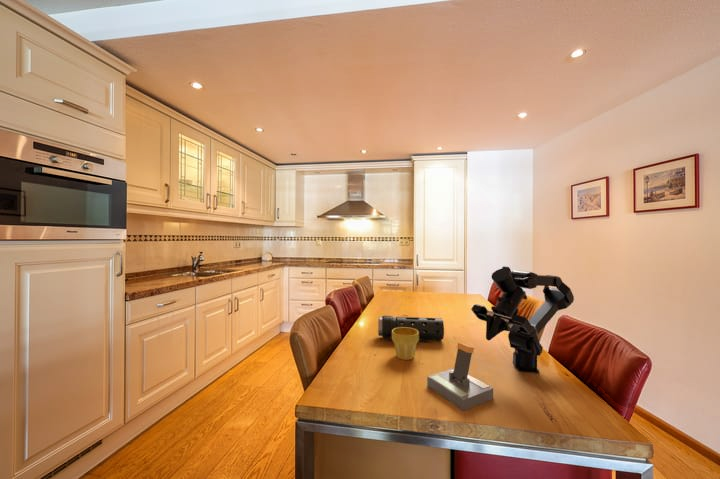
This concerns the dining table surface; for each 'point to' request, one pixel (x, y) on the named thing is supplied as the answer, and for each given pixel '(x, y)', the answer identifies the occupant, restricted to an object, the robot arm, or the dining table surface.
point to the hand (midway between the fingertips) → (487, 339)
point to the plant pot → (405, 342)
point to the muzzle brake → (428, 331)
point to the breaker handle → (462, 361)
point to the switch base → (460, 389)
